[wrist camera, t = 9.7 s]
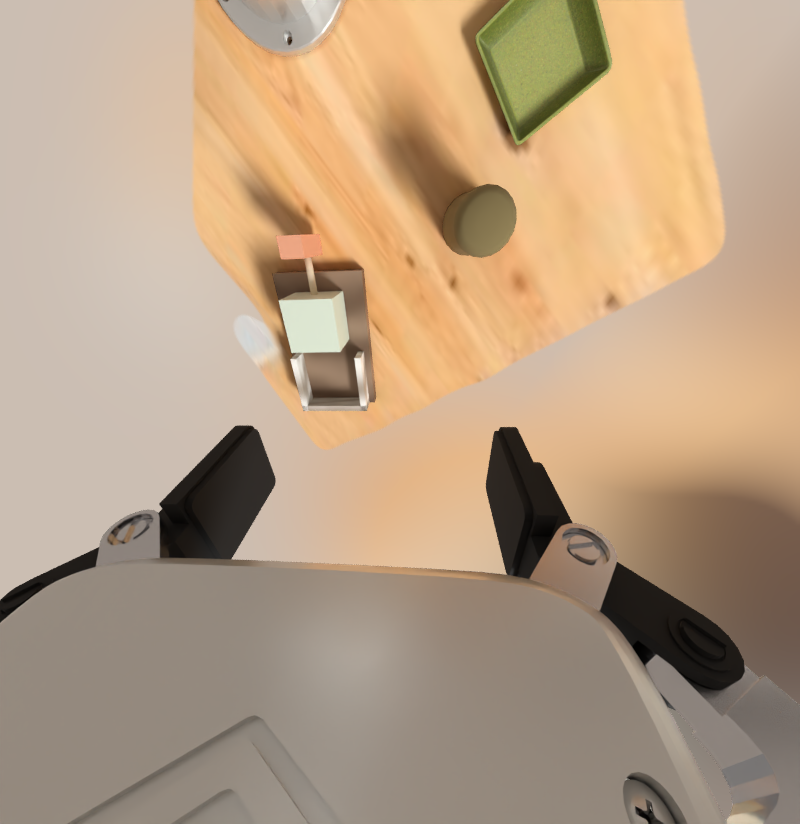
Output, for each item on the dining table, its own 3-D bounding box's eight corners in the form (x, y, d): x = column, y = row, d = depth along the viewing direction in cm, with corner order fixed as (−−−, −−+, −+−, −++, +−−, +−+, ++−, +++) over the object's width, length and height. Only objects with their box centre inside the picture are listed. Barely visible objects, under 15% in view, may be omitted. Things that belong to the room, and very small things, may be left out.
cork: (431, 234, 33) (434, 235, 24) (465, 177, 30) (484, 153, 21) (472, 266, 35) (490, 279, 25) (509, 215, 32) (544, 208, 23)
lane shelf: (277, 272, 37) (262, 276, 33) (363, 269, 36) (357, 272, 32) (307, 397, 46) (298, 410, 43) (376, 397, 45) (372, 410, 42)
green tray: (568, -50, 23) (580, -74, 21) (602, 78, 26) (614, 67, 25) (469, 49, 26) (473, 36, 24) (511, 152, 29) (516, 147, 28)
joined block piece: (283, 236, 33) (257, 236, 28) (335, 233, 32) (318, 233, 27) (305, 339, 39) (288, 355, 34) (349, 338, 39) (338, 355, 34)
